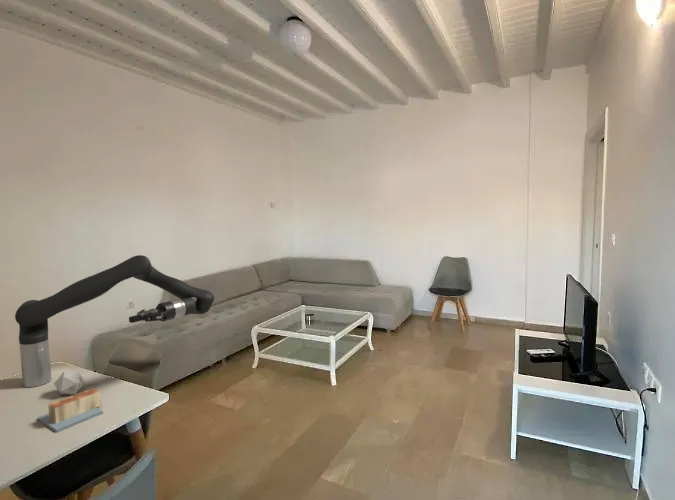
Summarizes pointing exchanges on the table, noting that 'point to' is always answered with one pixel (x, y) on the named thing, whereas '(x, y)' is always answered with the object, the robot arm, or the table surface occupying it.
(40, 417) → the mat
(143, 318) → the robot arm
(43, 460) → the table surface
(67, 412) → the beech block
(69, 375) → the die
